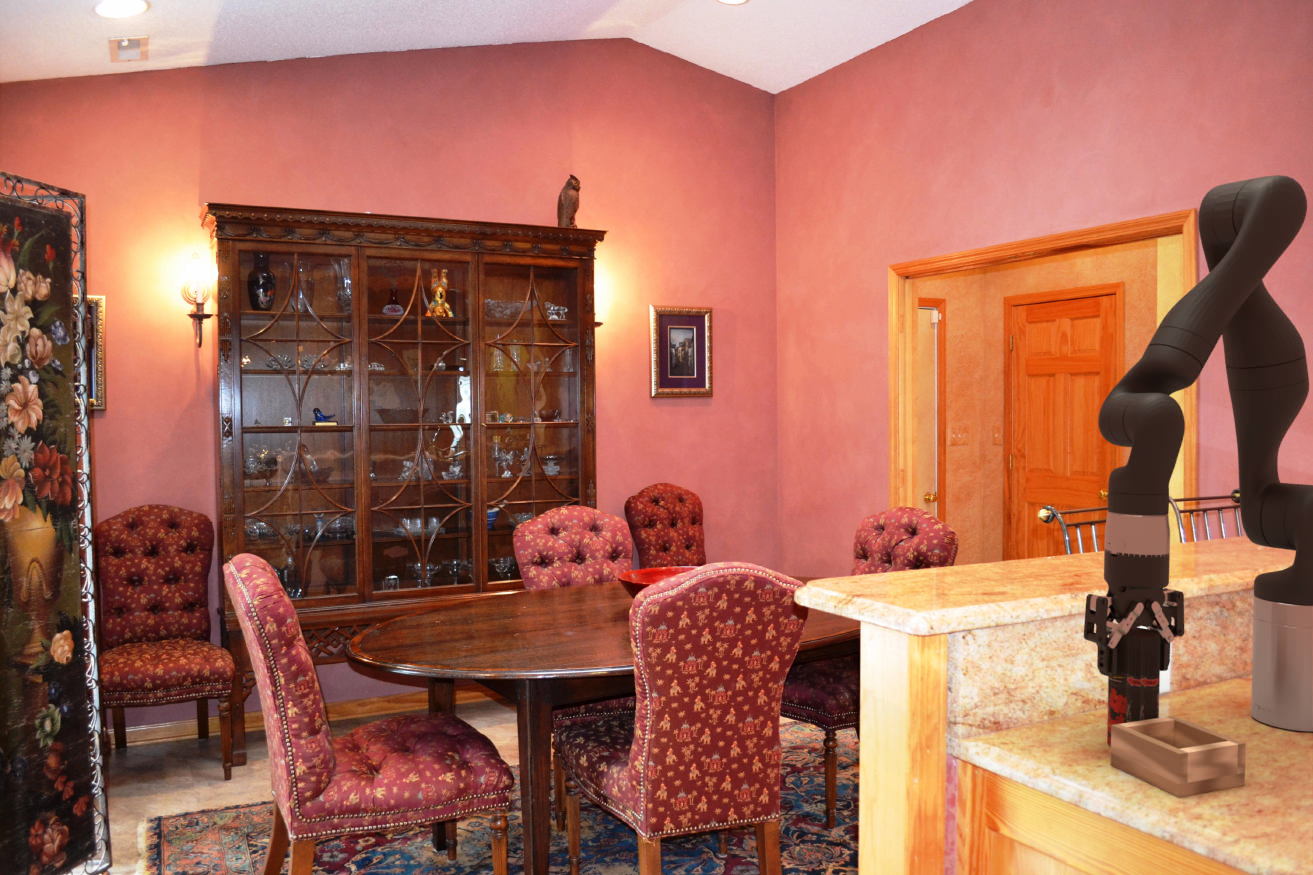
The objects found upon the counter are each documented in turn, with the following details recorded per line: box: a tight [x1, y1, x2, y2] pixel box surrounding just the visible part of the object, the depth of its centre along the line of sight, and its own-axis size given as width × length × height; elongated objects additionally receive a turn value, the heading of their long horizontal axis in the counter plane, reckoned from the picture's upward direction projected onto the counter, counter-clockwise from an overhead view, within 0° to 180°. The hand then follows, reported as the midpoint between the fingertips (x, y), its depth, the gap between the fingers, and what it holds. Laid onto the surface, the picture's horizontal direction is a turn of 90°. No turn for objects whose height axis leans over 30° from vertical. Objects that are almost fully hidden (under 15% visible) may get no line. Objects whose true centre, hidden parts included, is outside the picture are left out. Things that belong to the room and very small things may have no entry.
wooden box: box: [1110, 715, 1247, 798], centre depth 113 cm, size 10×10×5 cm
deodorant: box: [1106, 627, 1161, 748], centre depth 123 cm, size 6×6×15 cm
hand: (1133, 672), depth 122 cm, fingers open, 8 cm apart
